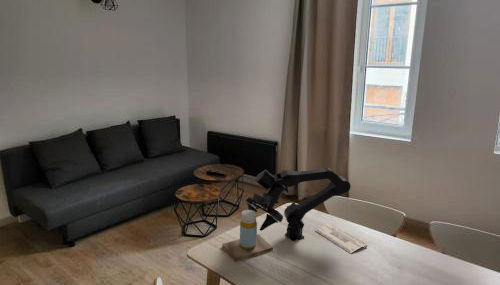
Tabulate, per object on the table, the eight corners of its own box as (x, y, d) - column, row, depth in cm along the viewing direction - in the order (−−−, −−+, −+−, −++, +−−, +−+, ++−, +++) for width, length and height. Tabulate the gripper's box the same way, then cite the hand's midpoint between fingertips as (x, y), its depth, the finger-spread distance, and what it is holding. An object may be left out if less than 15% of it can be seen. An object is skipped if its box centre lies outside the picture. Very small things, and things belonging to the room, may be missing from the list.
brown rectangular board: (258, 237, 156) (258, 234, 156) (272, 250, 146) (272, 247, 146) (222, 246, 148) (222, 243, 147) (234, 261, 138) (234, 258, 137)
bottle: (254, 250, 143) (255, 218, 139) (238, 248, 144) (238, 215, 140) (257, 242, 149) (258, 210, 146) (241, 239, 151) (242, 208, 147)
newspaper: (369, 247, 152) (370, 242, 151) (350, 257, 146) (350, 252, 145) (332, 224, 170) (332, 220, 169) (313, 233, 164) (313, 228, 163)
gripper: (249, 179, 152) (229, 209, 148) (279, 193, 138) (257, 226, 134) (262, 191, 159) (243, 220, 155) (291, 206, 145) (271, 238, 141)
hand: (253, 226), depth 146 cm, fingers open, 9 cm apart
